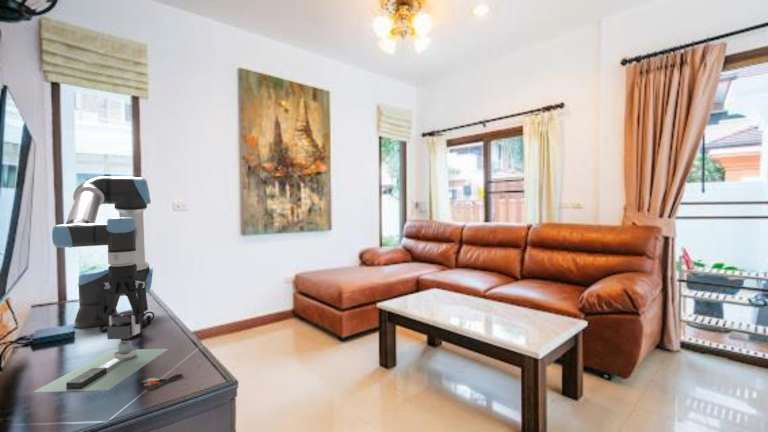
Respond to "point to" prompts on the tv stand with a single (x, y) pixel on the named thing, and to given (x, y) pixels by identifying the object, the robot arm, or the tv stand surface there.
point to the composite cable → (160, 381)
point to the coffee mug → (141, 325)
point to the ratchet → (104, 367)
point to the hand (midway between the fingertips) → (124, 334)
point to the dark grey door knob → (121, 326)
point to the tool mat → (112, 376)
